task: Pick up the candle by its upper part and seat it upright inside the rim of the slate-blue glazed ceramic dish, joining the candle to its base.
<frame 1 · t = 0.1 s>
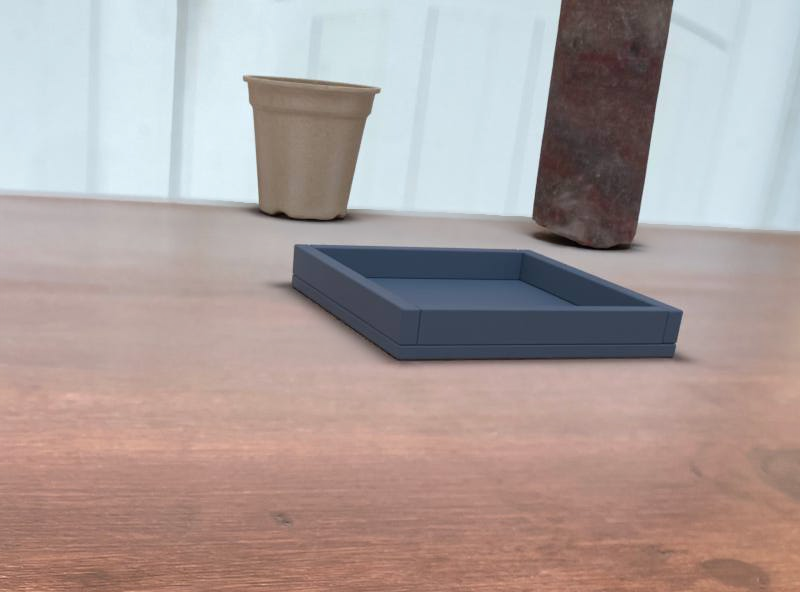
candle dish: (469, 319, 58), on the table
flower pot: (302, 217, 85), on the table
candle: (578, 243, 84), on the table
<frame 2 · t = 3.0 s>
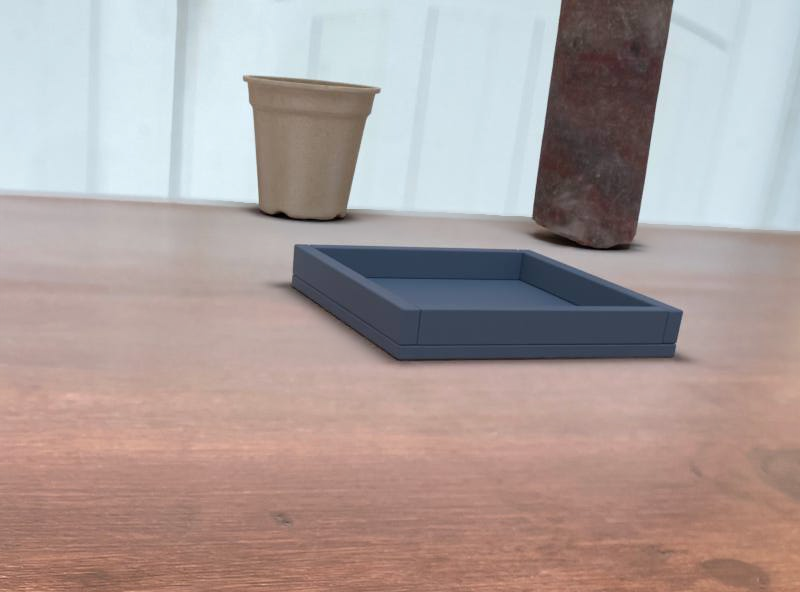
nothing on the table moved.
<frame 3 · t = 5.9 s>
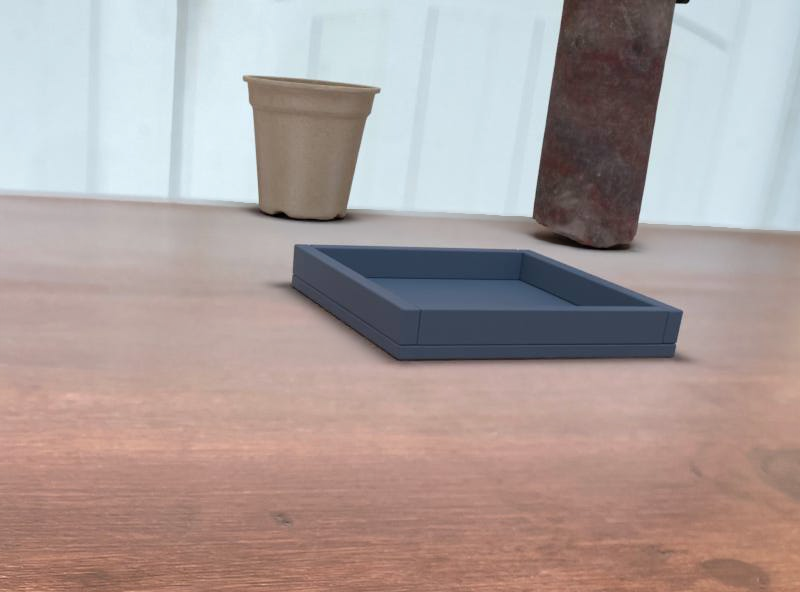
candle: (578, 242, 84), on the table, touching gripper
everything else where it was.
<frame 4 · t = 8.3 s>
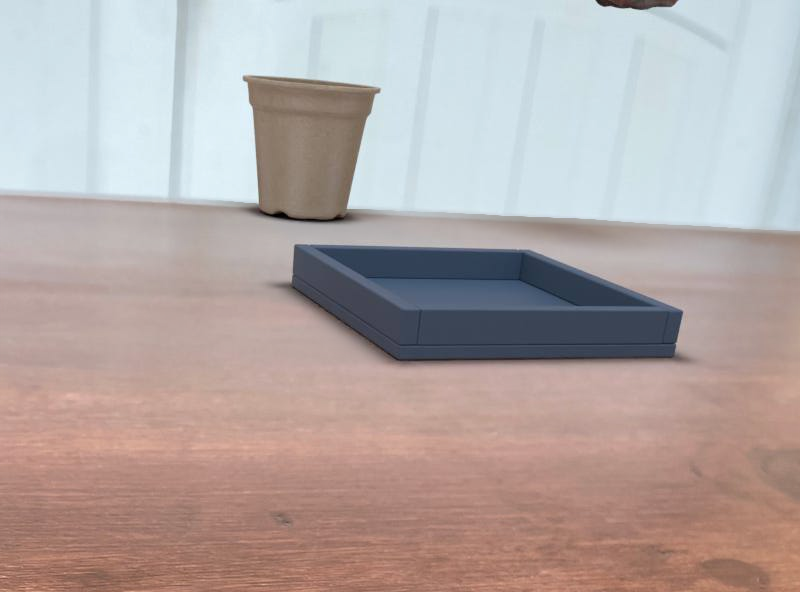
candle: (614, 12, 75), point 14 cm above the table, touching gripper
everything else where it was.
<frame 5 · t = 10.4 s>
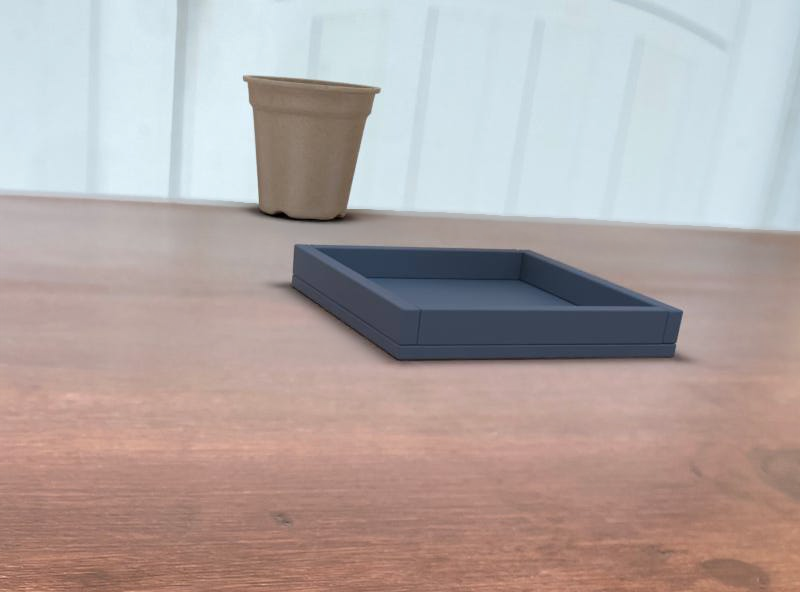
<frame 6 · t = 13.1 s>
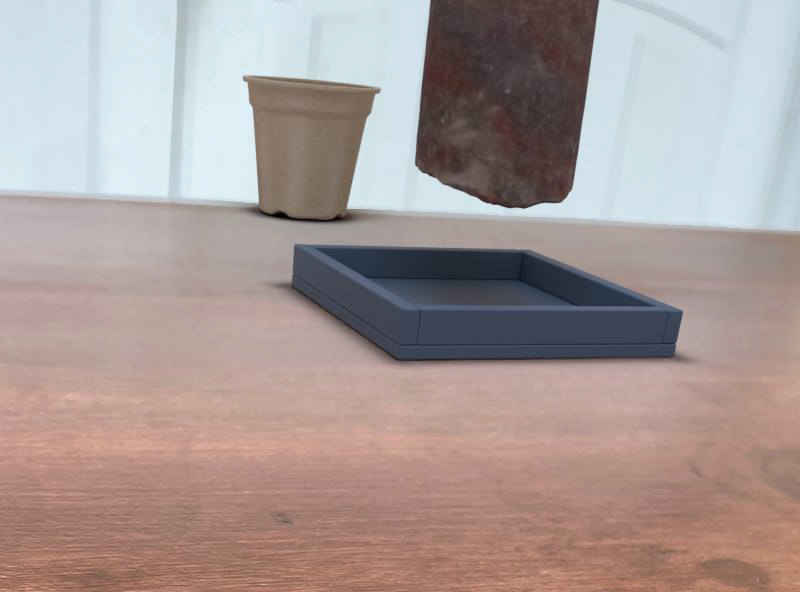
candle: (486, 202, 55), point 5 cm above the table, touching gripper
everything else where it was.
when the fingers open (16 cm above the table, at t = 15.1 s): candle stays where it is, resting on candle dish.
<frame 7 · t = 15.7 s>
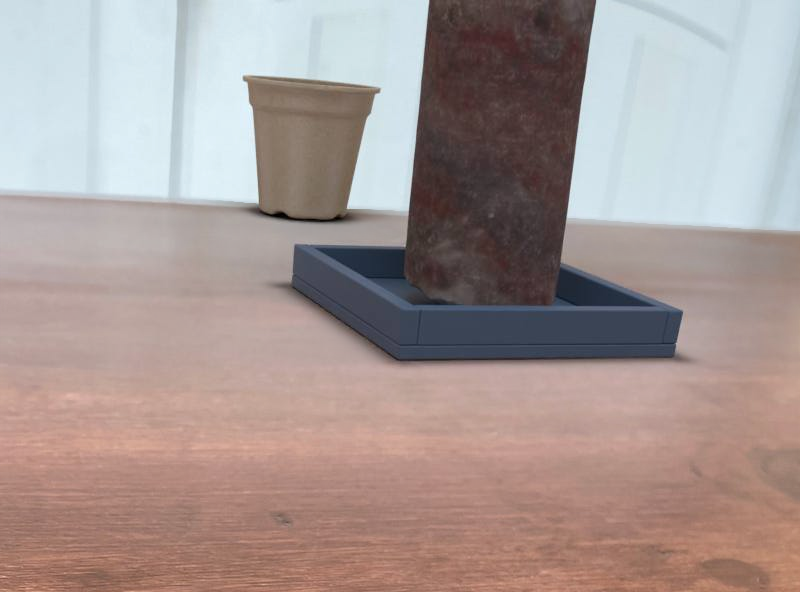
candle: (473, 310, 57), resting on candle dish
everything else where it was.
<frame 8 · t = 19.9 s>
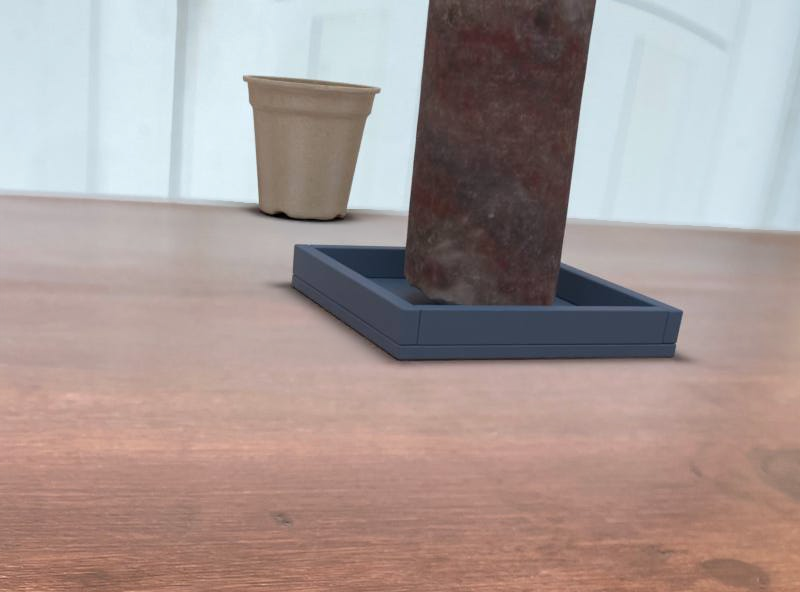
nothing on the table moved.
at the end: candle 0.1 cm off-centre in the candle dish, point 0.4 cm above the candle dish's base; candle tilted 0°; the gripper is holding nothing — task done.
